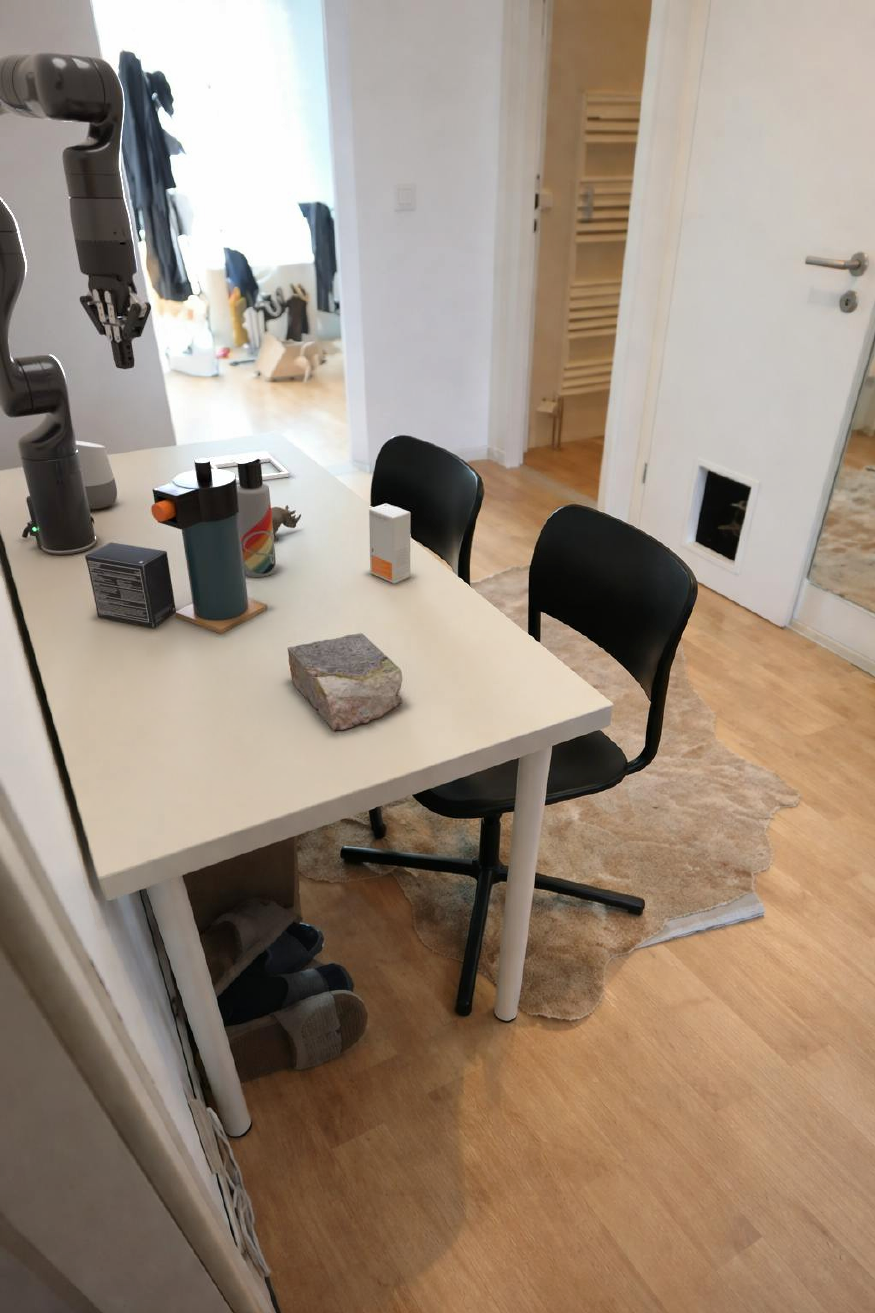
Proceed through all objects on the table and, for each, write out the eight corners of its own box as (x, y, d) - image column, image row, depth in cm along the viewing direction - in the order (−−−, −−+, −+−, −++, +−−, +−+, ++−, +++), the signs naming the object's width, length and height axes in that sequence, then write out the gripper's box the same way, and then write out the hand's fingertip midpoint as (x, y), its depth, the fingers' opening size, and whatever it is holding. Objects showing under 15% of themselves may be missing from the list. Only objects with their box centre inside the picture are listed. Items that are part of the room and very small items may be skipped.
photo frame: (265, 450, 201) (288, 471, 187) (266, 454, 201) (289, 476, 188) (205, 457, 195) (224, 480, 181) (206, 462, 196) (225, 484, 182)
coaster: (221, 634, 124) (220, 629, 124) (175, 616, 129) (174, 611, 128) (267, 609, 131) (267, 604, 131) (222, 593, 136) (221, 588, 135)
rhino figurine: (308, 532, 159) (306, 503, 156) (245, 550, 151) (242, 519, 148) (297, 526, 162) (294, 497, 159) (234, 543, 154) (230, 513, 151)
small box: (179, 611, 130) (169, 549, 125) (154, 629, 125) (142, 565, 120) (123, 600, 133) (111, 539, 128) (96, 617, 128) (82, 555, 122)
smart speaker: (129, 504, 171) (117, 436, 164) (91, 517, 164) (77, 447, 157) (99, 495, 175) (86, 429, 168) (61, 507, 169) (46, 439, 161)
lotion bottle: (269, 579, 141) (258, 464, 131) (237, 576, 142) (224, 461, 132) (281, 566, 146) (271, 454, 135) (250, 562, 146) (239, 451, 136)
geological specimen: (357, 627, 116) (410, 671, 105) (358, 666, 119) (410, 712, 107) (285, 644, 111) (332, 691, 100) (288, 683, 114) (334, 734, 102)
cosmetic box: (369, 574, 143) (367, 508, 137) (387, 567, 146) (386, 502, 140) (393, 584, 140) (393, 517, 134) (411, 577, 142) (411, 511, 136)
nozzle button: (165, 523, 114) (162, 505, 112) (152, 519, 115) (149, 501, 114) (182, 517, 116) (179, 499, 115) (169, 513, 117) (166, 495, 116)
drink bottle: (205, 634, 122) (183, 479, 110) (165, 618, 126) (139, 467, 114) (261, 605, 131) (246, 458, 119) (221, 591, 135) (203, 448, 123)
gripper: (48, 234, 113) (74, 366, 121) (112, 239, 106) (134, 378, 115) (95, 231, 118) (117, 358, 127) (158, 237, 112) (176, 369, 121)
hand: (125, 367), depth 121 cm, fingers closed
